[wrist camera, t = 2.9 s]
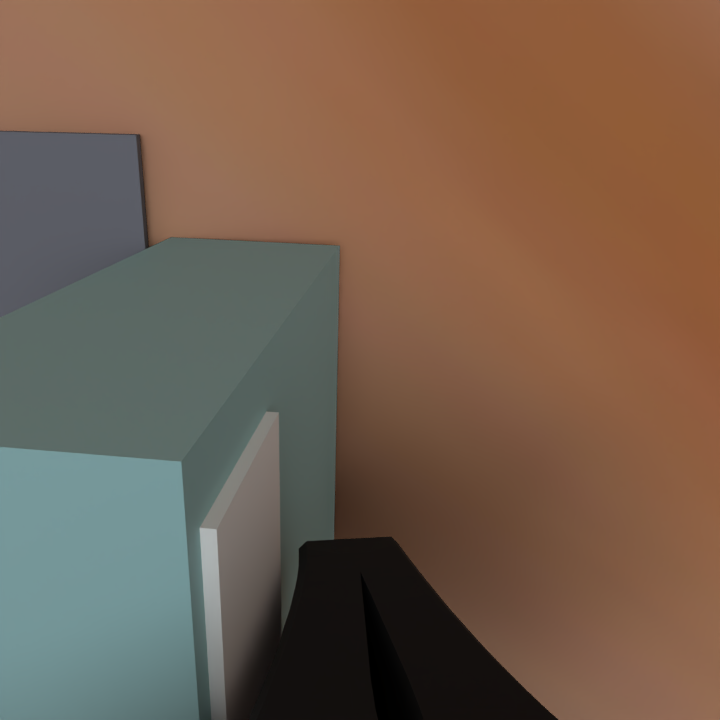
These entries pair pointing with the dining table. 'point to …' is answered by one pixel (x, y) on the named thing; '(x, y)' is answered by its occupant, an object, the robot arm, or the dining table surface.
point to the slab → (163, 478)
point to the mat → (66, 209)
